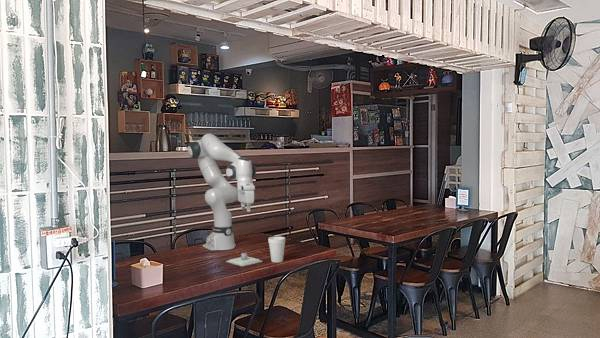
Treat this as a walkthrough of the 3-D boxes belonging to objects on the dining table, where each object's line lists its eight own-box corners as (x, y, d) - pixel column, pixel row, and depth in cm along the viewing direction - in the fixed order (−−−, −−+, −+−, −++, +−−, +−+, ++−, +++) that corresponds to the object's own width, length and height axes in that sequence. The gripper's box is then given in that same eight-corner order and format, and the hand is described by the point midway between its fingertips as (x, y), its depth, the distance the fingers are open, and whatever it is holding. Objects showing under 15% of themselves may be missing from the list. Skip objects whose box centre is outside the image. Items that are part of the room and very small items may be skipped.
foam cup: (283, 263, 272) (282, 240, 271) (266, 262, 274) (266, 239, 273) (287, 259, 281) (286, 236, 280) (271, 258, 283) (271, 236, 282)
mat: (226, 261, 277) (226, 260, 277) (245, 257, 286) (245, 256, 286) (242, 266, 266) (242, 265, 266) (262, 261, 276) (262, 260, 276)
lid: (229, 261, 276) (228, 253, 276) (246, 257, 285) (245, 250, 284) (242, 264, 268) (242, 256, 267) (259, 260, 276) (259, 253, 276)
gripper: (234, 185, 286) (235, 209, 287) (244, 187, 267) (245, 213, 268) (245, 184, 289) (246, 208, 289) (255, 186, 270) (256, 212, 270)
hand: (246, 210), depth 278 cm, fingers open, 8 cm apart
